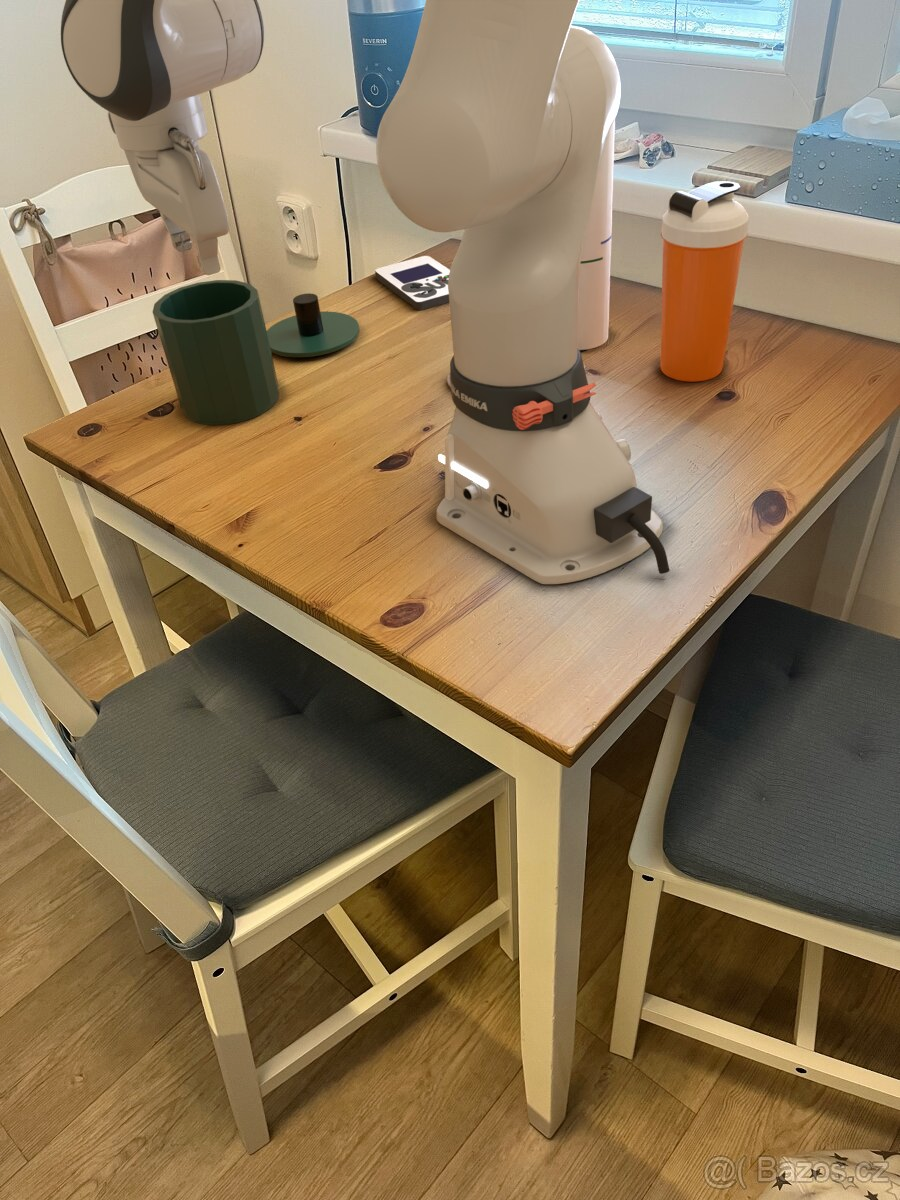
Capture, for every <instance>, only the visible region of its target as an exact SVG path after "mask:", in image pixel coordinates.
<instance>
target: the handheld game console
mask: <svg viewBox="0 0 900 1200" xmlns="http://www.w3.org/2000/svg"><path fill="white" fill-rule="evenodd" d="M449 273H450V268H448V267H446V266H445V265H444V264H441V263H440V262H439V261H437V260H436V259H434V258H433V257H431V256H430V255H422V256H418V257H415V258H411V259H407V260H403V261H400V262H396V263H392V264H389V265H385V266H382V267H377V268H376V269H374V274H375V279H376V280H377V281H378V282H380V283H381V284H382V285H383V286H385V287H386V288H387V289H389V290H390V291H391V292H393V293H394V294H395V295H397V296H398V297H399V298H401V299H402V300H404V301H405V302H406V303H407V304H409V305H410V306H411V307H413V308H414V309H415V310H417V311H424V310H427V309H431V308H434V307H437V306H440V305H444V304H449V291H448V279H449Z"/></svg>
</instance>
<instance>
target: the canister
mask: <svg viewBox="0 0 900 1200" xmlns="http://www.w3.org/2000/svg"><path fill="white" fill-rule="evenodd" d="M152 315H153V318H154V323H155V325H156V329H157V332H158V336H159V339H160V342H161V346H162V348H163V352H164V356H165V359H166V362H167V365H168V366H167V367H168V369H169V373H170V375H171V380H172V382H173V386H174V389H175V392H176V396H177V399H178V402H179V405H180V409H181V410H182V412H183V414H184V416H185V417H186V418H187V419H188V420H190V421H192V422H193V423H197V424H201V425H206V426H225V425H234V424H238V423H242V422H246V421H249V420H252V419H255V418H256V417H258V416H261V415H263V414H265V413H266V412H268V411H269V410H270V409H272V408H273V406H274V405H275V404H276V403H277V402H278V401H279V397H280V390H279V382H278V378H277V372H276V367H275V364H274V363H275V362H274V359H273V354H272V352H271V349H270V345H269V340H268V336H267V328H266V327H267V326H266V322H265V317H264V314H263V309H262V304H261V299H260V295H259V291H258V289H257V288H256V287H254V286H253V284H251V283H248V282H244V281H242V280H241V281H240V280H236V279H234V280H233V279H216V280H215V279H213V280H208V281H207V280H206V281H199V282H194V283H191V284H188V285H185V286H181V287H179V288H176V289H174V290H172V291H170V292H168V293H165V294H163V296H161V297H160V298H159V299H158V300H157V301H156V302H155V303H154V304H153V309H152Z"/></svg>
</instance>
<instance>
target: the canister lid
mask: <svg viewBox="0 0 900 1200" xmlns="http://www.w3.org/2000/svg"><path fill="white" fill-rule="evenodd" d="M292 304H293V308H294V313H295V315H291V316H288V317H286V318H284V319H282V320H280V321H278V322H276V323H274V324H273V325H271V326H270V327H269V328H268V329H266V331H267V336H268V340H269V345H270V349H271V353H273V354H275V355H278V356H281V357H286V358H311V357H317V356H323V355H327V354H330V353H334V352H336V351H339V350H342V349H344V348H345V347H347V346H350V345H351V344H352V343H353V342H354V341H356V339H357V338H358V336H359V334H360V323H359V322H358V320H357V319H355V318H354V317H353V316H352V315H349V314H347V313H343V312H338V311H325V310H324V311H321V308H320V303H319V298H318V295H317V294H315V293H302V294H301V293H300V294H299V295H295V297H293V299H292Z"/></svg>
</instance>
